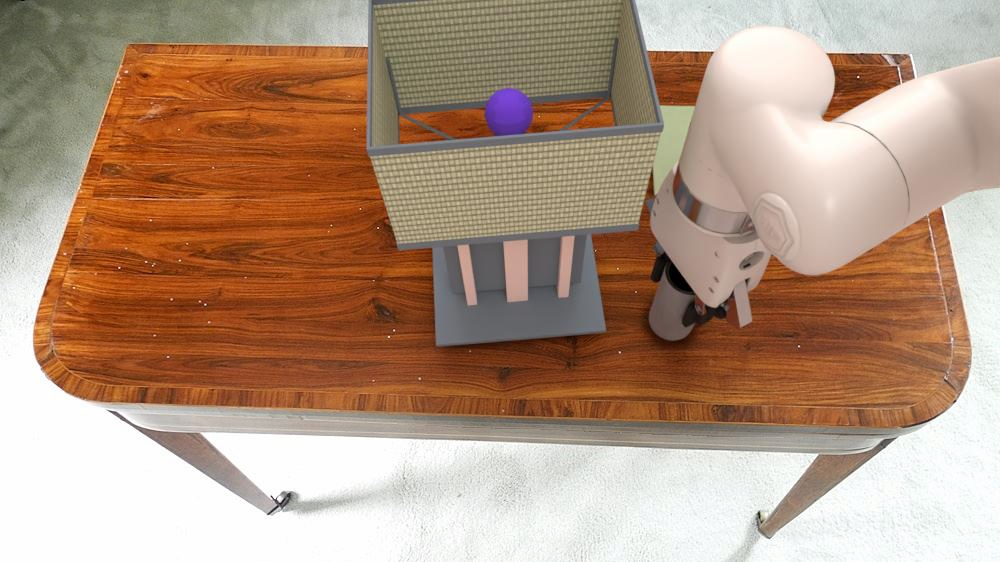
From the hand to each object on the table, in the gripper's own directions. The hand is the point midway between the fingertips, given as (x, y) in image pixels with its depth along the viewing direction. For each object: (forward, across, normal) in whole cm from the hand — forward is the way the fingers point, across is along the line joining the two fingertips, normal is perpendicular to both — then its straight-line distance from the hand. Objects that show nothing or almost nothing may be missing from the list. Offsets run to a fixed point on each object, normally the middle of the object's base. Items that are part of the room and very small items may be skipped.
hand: (681, 295), depth 69 cm
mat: (+6, +14, -17) cm, 23 cm away
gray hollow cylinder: (+6, 0, 0) cm, 6 cm away
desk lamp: (+6, +11, +12) cm, 17 cm away
